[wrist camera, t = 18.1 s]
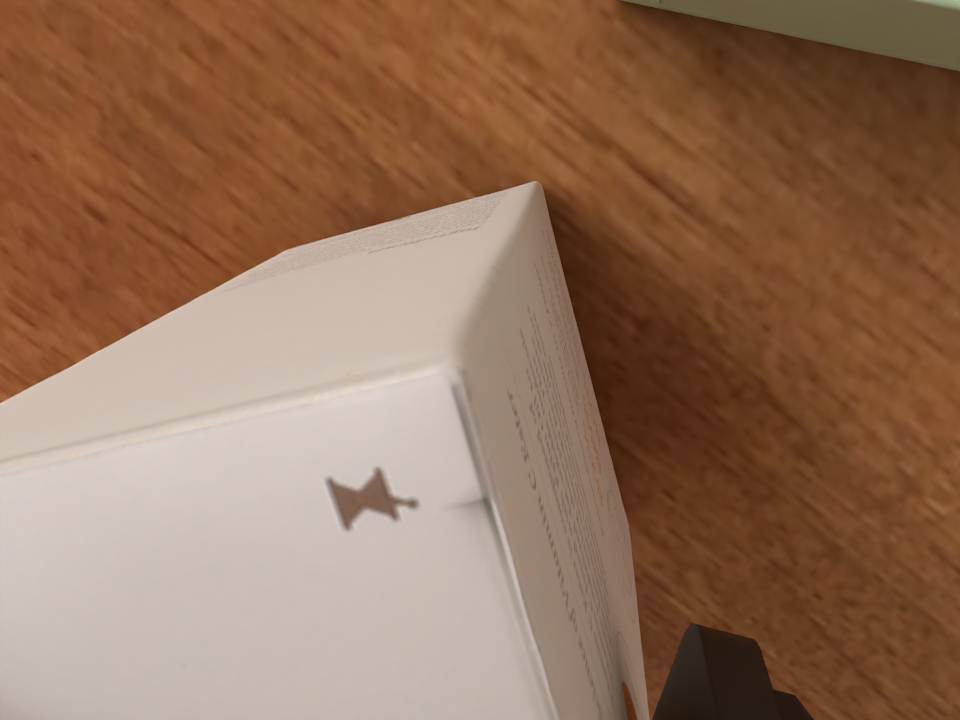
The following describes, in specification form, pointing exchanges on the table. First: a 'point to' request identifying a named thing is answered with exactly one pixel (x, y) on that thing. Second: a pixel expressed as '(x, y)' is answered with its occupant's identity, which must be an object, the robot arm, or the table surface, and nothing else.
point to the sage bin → (846, 23)
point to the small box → (329, 497)
